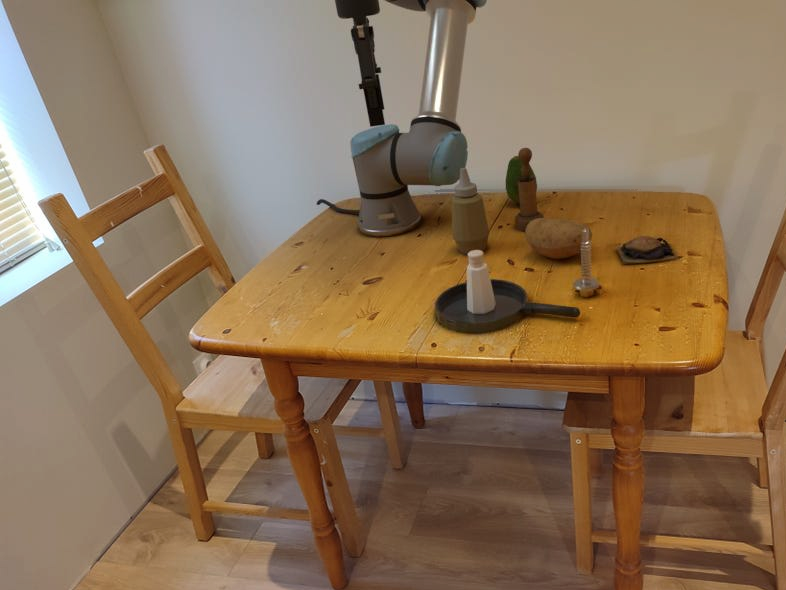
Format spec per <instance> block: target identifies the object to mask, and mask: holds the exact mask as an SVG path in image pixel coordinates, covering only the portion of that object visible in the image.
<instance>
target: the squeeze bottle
mask: <svg viewBox="0 0 786 590" xmlns="http://www.w3.org/2000/svg"><path fill="white" fill-rule="evenodd" d="M458 181H459V183H458V184H456V185H455V186H454V188H453V189H454V194H455V195H454V196H453V197H452V199H451V224H452V225H451V227H452V239H453V240H454V242H455V244H456V247H457V248H458V251H459V252H460V253H462V254H465V255H468V253H469V252H470V251H473V250H481V251H482V252H484V251H485V250H486V248H487V245H488V242H489V241H488V240H489V237H490V236H489V235H490V229H489V224H488V218H487V215H486V209H485V205H484V199H483V196H482V195H481V194H480V193H479V192H478V188H477V184H476V183H474V182H472V181H471V179H470V175H469V172H468V169H467V168H466V167H465V168H461V170H460V179H459V180H458Z"/></svg>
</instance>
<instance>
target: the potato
mask: <svg viewBox="0 0 786 590" xmlns="http://www.w3.org/2000/svg"><path fill="white" fill-rule="evenodd" d="M585 228H586V229H589V240H590V242H591V241H592V237H593V232H592V229H591V228H590V227H589V226H587V224H584V223H582V222H579V221H573V220H569V219H568V220H567V219H562V218H550V217H549V218H548V217H543V218H538V219H534V220H532V221H530V222H529V224H528V225H527V227H526V231H524V236H525V240H526V242H527V244H528V245H529V246H530V248H532V251H534V252H536V254H537V253H538V254H539V255H540V256H543V257H546V258H548V259H552V260H563V259H567V258H570V257H574V256H577V255H578V254H580V253H581V245H582V244H581V242H582V230H583V229H585Z"/></svg>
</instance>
